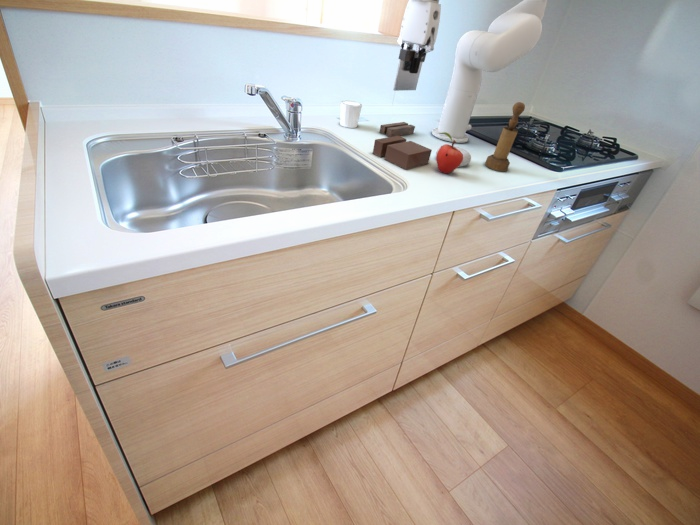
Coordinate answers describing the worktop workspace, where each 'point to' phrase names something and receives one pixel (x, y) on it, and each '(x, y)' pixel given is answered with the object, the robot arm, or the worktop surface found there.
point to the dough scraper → (406, 71)
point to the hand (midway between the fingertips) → (409, 71)
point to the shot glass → (350, 113)
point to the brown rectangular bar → (385, 144)
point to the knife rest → (397, 129)
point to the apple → (448, 157)
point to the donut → (465, 156)
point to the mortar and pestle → (505, 142)
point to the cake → (407, 154)
